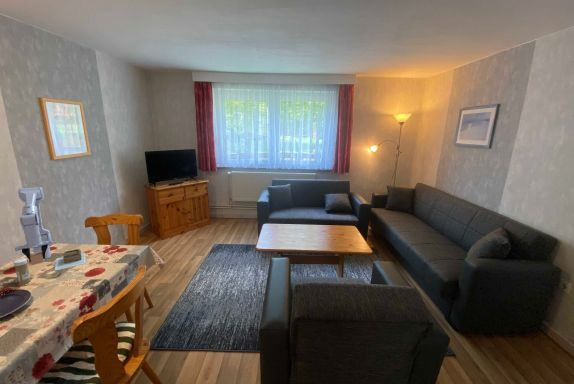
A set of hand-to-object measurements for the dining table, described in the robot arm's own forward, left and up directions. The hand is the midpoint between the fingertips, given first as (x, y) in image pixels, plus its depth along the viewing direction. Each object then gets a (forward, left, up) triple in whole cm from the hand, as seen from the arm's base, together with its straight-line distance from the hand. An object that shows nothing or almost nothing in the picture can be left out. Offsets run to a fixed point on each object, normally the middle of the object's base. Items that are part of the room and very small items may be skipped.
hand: (37, 259), depth 137 cm
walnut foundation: (-8, +14, -7) cm, 18 cm away
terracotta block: (0, 0, -2) cm, 2 cm away
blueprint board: (-5, +13, -8) cm, 16 cm away
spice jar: (+9, -5, -9) cm, 13 cm away
